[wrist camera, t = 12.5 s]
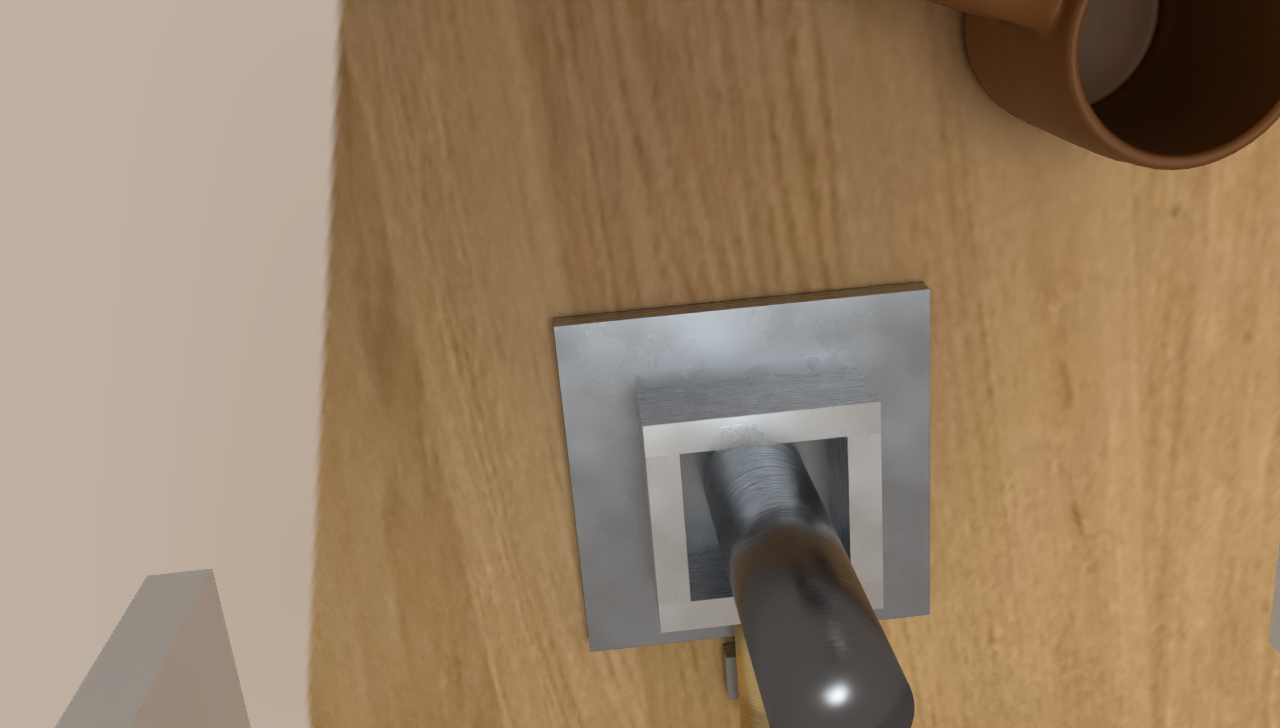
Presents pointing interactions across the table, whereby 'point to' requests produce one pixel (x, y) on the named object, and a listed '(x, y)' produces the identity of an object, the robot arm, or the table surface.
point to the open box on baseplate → (734, 418)
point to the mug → (1132, 72)
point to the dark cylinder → (800, 597)
